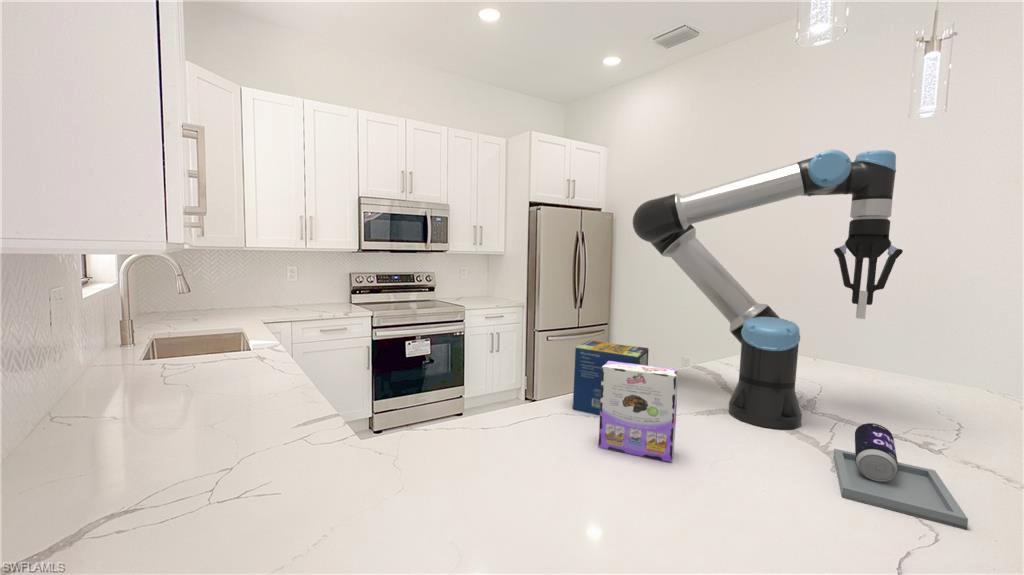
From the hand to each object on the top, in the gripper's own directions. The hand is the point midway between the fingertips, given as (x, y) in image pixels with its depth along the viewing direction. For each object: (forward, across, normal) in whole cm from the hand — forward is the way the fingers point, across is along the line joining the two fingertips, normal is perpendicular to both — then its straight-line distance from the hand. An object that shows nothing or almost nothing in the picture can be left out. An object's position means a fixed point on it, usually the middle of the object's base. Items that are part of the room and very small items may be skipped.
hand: (860, 317), depth 106 cm
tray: (+24, -2, +39) cm, 46 cm away
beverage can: (+19, -1, +28) cm, 34 cm away
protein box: (+25, +50, +32) cm, 64 cm away
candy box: (+25, +38, +50) cm, 67 cm away
